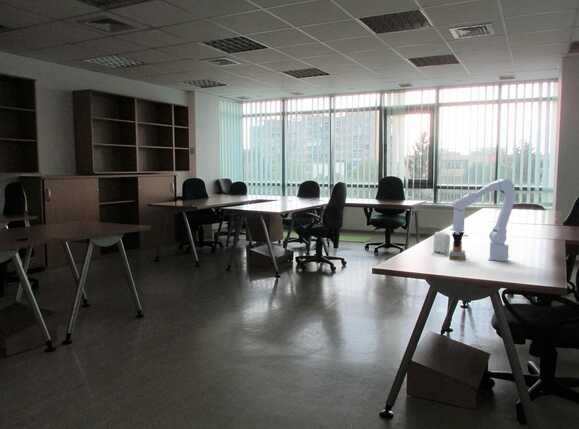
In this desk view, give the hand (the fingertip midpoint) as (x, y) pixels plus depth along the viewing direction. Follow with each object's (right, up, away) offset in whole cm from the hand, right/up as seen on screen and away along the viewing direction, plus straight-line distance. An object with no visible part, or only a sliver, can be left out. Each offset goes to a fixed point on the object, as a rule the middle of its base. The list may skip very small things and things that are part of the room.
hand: (457, 245), depth 264 cm
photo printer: (-3, -5, +19) cm, 20 cm away
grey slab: (0, -5, 0) cm, 5 cm away
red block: (0, -3, 0) cm, 3 cm away
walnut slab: (0, -8, +1) cm, 8 cm away
